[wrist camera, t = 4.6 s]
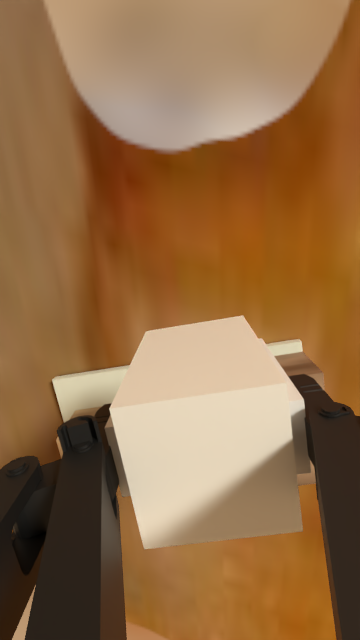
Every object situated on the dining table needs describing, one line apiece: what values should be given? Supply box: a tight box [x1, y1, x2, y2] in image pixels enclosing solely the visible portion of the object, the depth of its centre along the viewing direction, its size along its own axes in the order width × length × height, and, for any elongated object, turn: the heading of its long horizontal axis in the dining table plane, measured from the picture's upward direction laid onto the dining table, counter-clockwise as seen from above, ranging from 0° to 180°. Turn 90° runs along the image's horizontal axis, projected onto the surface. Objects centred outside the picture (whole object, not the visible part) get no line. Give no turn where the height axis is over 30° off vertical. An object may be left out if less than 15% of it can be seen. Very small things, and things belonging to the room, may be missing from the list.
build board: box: [52, 339, 303, 422], centre depth 33 cm, size 12×24×1 cm, turn 100°
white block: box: [109, 316, 303, 549], centre depth 14 cm, size 5×5×8 cm
